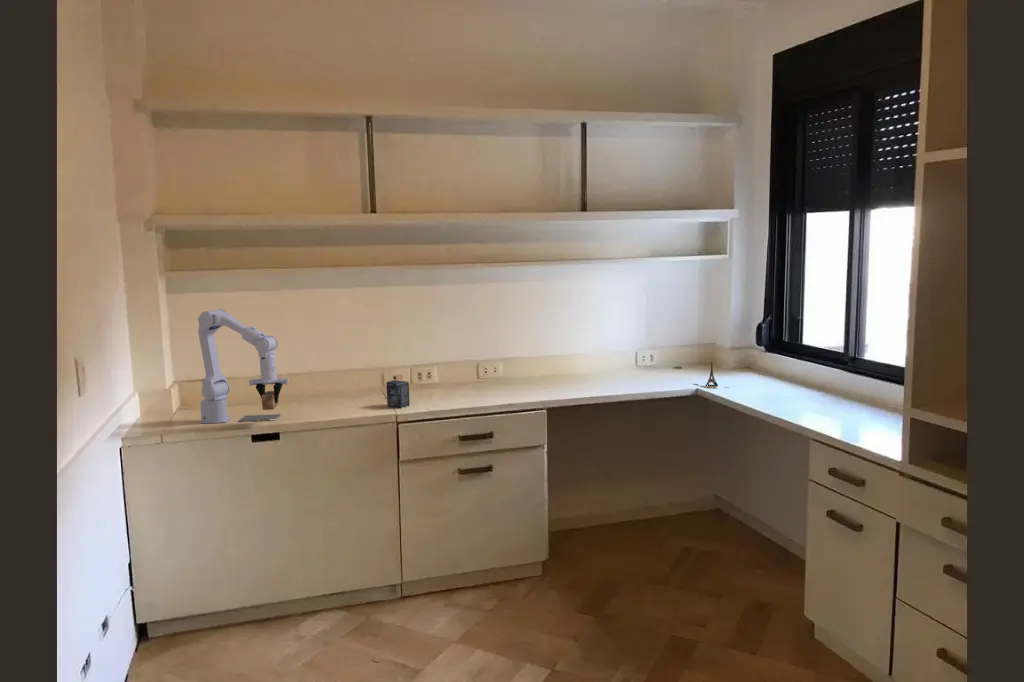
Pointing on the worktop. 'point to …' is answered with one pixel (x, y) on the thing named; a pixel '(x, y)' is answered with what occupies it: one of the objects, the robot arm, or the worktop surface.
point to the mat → (259, 417)
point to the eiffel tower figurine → (711, 380)
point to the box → (397, 393)
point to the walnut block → (269, 401)
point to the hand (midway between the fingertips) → (270, 402)
